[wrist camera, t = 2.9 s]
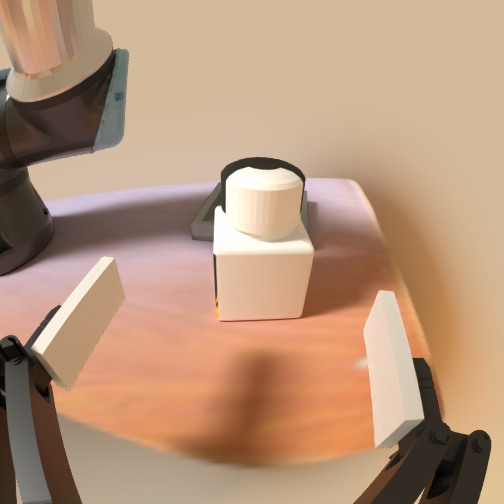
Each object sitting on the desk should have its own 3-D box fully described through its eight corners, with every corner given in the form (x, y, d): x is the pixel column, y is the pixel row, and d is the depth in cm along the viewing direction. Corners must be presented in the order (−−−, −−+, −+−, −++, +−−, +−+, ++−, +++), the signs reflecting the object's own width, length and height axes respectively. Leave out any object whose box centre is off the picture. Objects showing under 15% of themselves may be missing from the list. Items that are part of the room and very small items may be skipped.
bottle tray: (191, 239, 34) (190, 224, 33) (219, 194, 45) (218, 182, 44) (305, 252, 33) (308, 236, 32) (305, 203, 44) (306, 191, 42)
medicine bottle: (216, 269, 30) (214, 150, 23) (287, 267, 31) (301, 152, 24) (216, 322, 24) (210, 182, 17) (302, 319, 25) (327, 184, 18)
